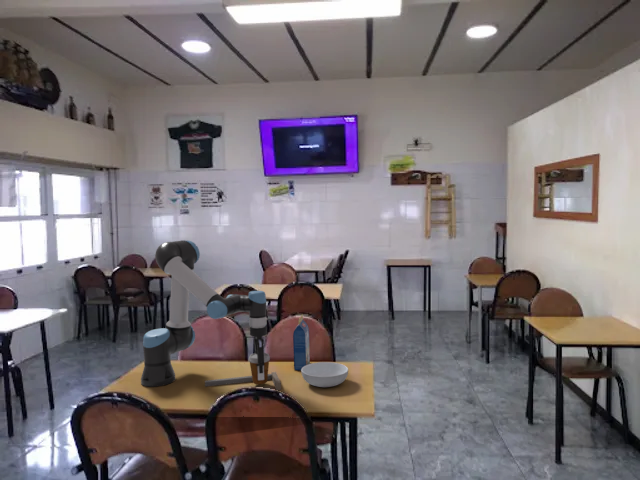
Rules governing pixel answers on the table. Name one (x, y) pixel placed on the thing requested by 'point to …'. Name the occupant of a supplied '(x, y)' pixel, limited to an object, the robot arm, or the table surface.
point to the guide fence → (243, 380)
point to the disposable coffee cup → (254, 368)
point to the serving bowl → (324, 374)
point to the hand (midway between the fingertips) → (259, 376)
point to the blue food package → (301, 345)
